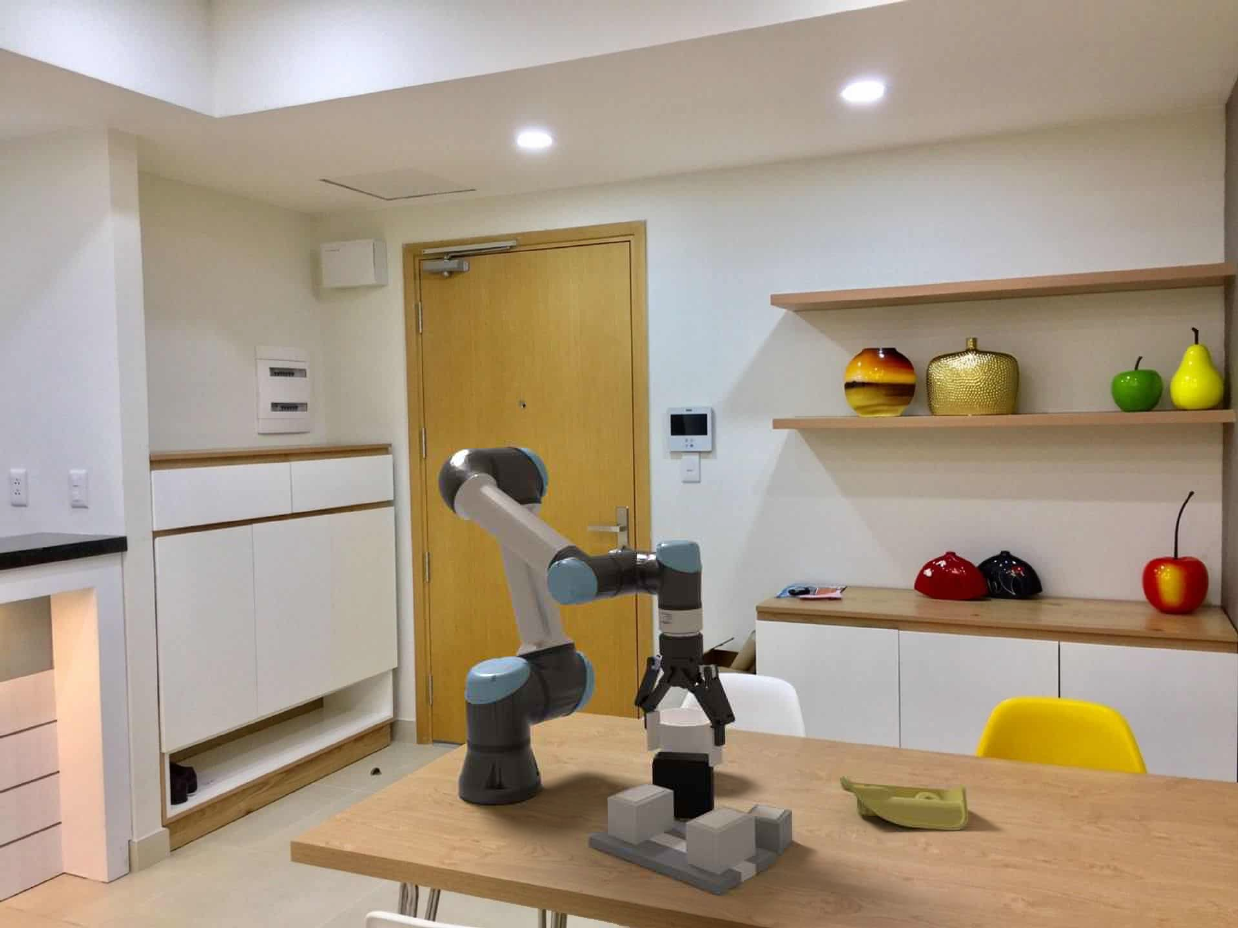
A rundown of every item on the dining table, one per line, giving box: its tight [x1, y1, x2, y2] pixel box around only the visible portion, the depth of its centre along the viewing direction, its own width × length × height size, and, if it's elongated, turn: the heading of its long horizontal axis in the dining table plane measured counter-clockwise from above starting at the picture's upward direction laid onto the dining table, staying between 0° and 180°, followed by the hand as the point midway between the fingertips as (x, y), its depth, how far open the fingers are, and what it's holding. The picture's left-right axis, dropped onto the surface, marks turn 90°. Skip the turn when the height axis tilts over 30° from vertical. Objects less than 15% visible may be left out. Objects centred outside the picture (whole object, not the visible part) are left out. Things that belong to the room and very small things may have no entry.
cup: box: [659, 707, 712, 754], centre depth 192 cm, size 12×12×11 cm
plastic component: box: [839, 775, 969, 831], centre depth 169 cm, size 20×7×10 cm
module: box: [746, 803, 793, 856], centre depth 159 cm, size 6×6×5 cm
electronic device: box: [651, 750, 715, 820], centre depth 172 cm, size 4×10×10 cm, turn 79°
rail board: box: [587, 782, 777, 896], centre depth 156 cm, size 26×14×8 cm, turn 47°
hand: (684, 756), depth 172 cm, fingers open, 13 cm apart
